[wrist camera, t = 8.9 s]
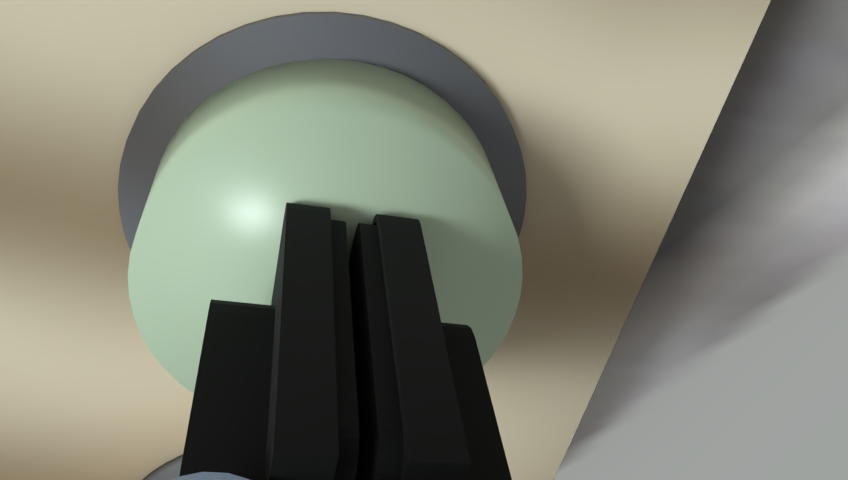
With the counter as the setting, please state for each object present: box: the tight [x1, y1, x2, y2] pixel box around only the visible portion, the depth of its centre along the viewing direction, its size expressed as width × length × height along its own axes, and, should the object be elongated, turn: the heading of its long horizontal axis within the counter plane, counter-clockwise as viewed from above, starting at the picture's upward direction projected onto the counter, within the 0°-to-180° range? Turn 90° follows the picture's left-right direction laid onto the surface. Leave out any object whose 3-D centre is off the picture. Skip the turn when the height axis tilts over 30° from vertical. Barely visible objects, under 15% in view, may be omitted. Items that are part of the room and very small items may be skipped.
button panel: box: [0, 0, 771, 480], centre depth 13 cm, size 25×11×3 cm, turn 167°
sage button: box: [128, 59, 523, 394], centre depth 11 cm, size 5×5×2 cm
